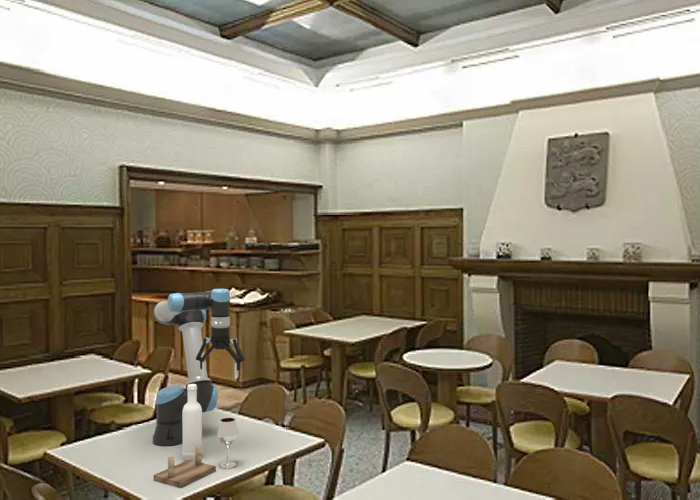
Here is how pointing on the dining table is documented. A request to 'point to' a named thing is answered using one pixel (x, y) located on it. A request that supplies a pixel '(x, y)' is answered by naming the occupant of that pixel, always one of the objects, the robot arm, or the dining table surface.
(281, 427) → the dining table surface
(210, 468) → the stand
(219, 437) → the wineglass
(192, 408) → the bottle
